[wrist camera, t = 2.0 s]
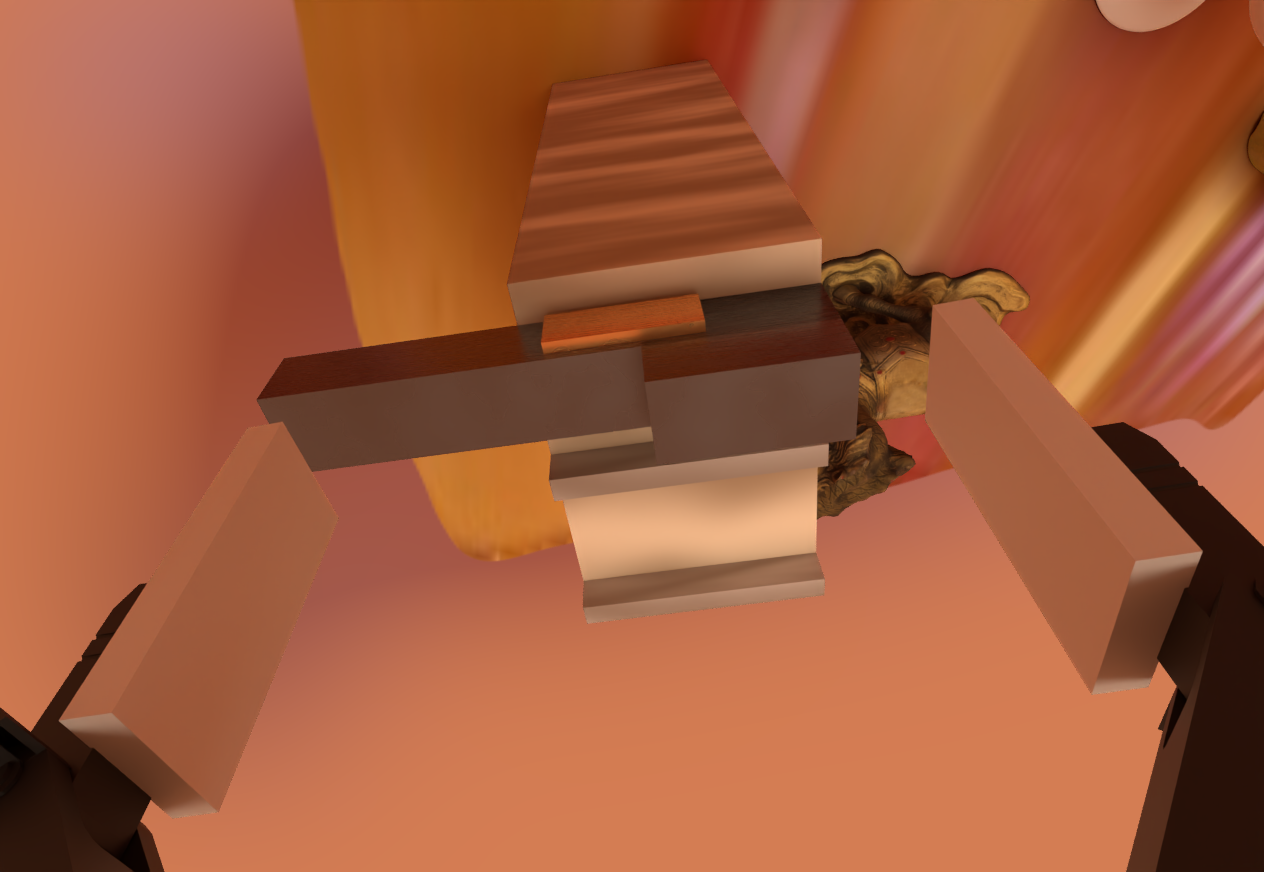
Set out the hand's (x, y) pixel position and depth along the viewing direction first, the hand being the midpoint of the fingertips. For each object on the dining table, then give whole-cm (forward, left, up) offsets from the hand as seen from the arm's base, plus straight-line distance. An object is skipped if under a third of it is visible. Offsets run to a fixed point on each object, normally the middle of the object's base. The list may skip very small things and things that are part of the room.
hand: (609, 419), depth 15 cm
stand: (+9, +2, -40) cm, 41 cm away
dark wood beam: (+4, -2, -10) cm, 11 cm away
